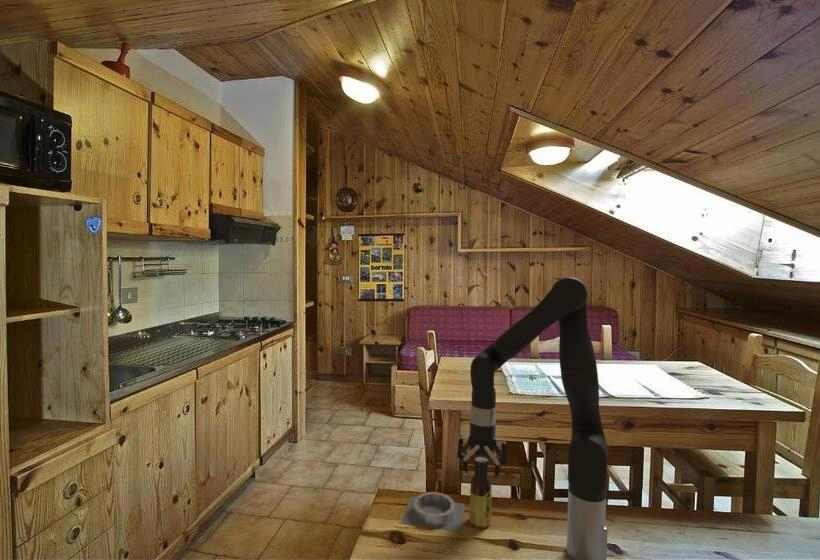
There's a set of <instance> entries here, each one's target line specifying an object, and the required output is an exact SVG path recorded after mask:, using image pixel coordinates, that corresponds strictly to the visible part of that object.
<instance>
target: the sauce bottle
mask: <svg viewBox="0 0 820 560" xmlns="http://www.w3.org/2000/svg"><path fill="white" fill-rule="evenodd" d="M473 461H474V475H473V477H472V478H471V480H470V490H469V522H470V524H471V526H472V527H473V528H476V529H479V530H485V529H488V528H489V527H490V526H491V521H492V520H491V519H492V485H491V481H490V478H489V473H488V468H489V467H488V466H489V459H487V458H486V457H484V456H477V457H474V460H473Z"/></svg>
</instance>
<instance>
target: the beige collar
mask: <svg viewBox="0 0 820 560" xmlns="http://www.w3.org/2000/svg"><path fill="white" fill-rule="evenodd" d="M415 497H416V498H415V501H414V504H413V514H414V516H415V518H416V519H417V521H419V522H421V523H423V524H424V525H427V526H434V527H439V526H444V525H448V524H449V523H450V522H451V521H453V520H454V514H455V503H456V502H455V501H454V500H453V499H452V498H451V496H448V495H446V494H444V493H443V492H442V493H441V492H438V491H437V492H435V491H430V492H429V491H428V492H423V493H421V494H419V495H418V496H415ZM431 503H434V504H441V505H443V506H445V507H447V508H448V510H447V511H446V512H445V513H440V514H432V513H427V512H425V511H423V510H421V509H420V507H422V506H423V505H425V504H431Z"/></svg>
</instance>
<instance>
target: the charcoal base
mask: <svg viewBox="0 0 820 560" xmlns="http://www.w3.org/2000/svg"><path fill="white" fill-rule="evenodd" d="M416 497H417V496H409V499H408V501H407V505H406V506H405V510H404V512H403V515H402V518H401V521H400V524H402V525H408V526H415V527H422V528H429V529H435V530H442V531H448V532H449V531H450V532H456V533H460V534H461V533H463V528H464V527H463V525H464V515H465V505H466V504H465V503H462V502H461V503H460V502H459V503H458V502H454V503H455V514H454V520H453V521H451V522H450V523H449V524H448V525H444V526H439V527H434V526H427V525H424V524H423V523H421V522H419V521H417V519H416V518H415V516H414V514H413V504H414V501H415V498H416ZM420 509H421V510H423V511H425V512H427V513H432V514H440V513H445V512H446V511H447V510H448V508H447V507H445V506H443V505H441V504H434V503H431V504H425V505H423V506H422V507H420Z"/></svg>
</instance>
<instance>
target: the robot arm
mask: <svg viewBox="0 0 820 560" xmlns="http://www.w3.org/2000/svg"><path fill="white" fill-rule="evenodd" d="M587 300H588V288H587V287H586V285H585V283H584V282H582V281H581V280H580V279H578V278H577V277H573V276H565V277H562V278H560V279H558V280H556V281H555V282H554V284H553V285H552V286H551V289H550V290H549V291H548V293H546V295H545V296H544V297H543V298H542V299H541V301H539V303H538V304H537V305H535V307H534V308H533V309H531V311H529V312H528V313H527V314H525V315H524V316H523V317H522V318H520V319H519V320H517V321H516V322H515V323H513V324H512V325H511V326H510V327H509V328H507V329H506V330H505V331H504V332H503V333H501V335H499V337H497V338H496V339H495V341H494V342H493V343H492V344H490V345H489V346H487V348H485V349H483V350H482V351H481V352H480V353H478V354H477V356H475V357H474V358H473V359H472V361H471V364H470V370H469V371H470V382H471V389H472V390H471V405H470V406H471V407H470V412H469V415H470V416H469V436H468V437H464V436H463V435H459V437H458V443H457V445H458V446H457V453H456V457H457V458H458V459H461V460H462V461H463V462H462V463H463V465H462V470H463V472H464V473H465V474H468V472H469V459H470V458H471V457H472V456H473V455H474V454H476V455H477V456H480V455H482V456H483V457H484V456H485V457H487V456H489V457H490V459H491V460H492V461H493V462H494V473H493V474H494V478H497V477H498V476H499V475H500V471H501V470H500V466H501V465H506V464H507V444H506V443H507V442H506V440H504V439H502V440H501V441H497V439H496V430H497V428H496V426H497V425H496V424H497V411H496V405H497V403H496V400H497V398H496V396H497V393H496V388H495V373H496V372H497V371H498V370H499V369H500V368H501V367H502V366H504V365H505V364H506V363H507V362H508V361H509V360H512V359H513V358H515V357H517V355H519V354H520V353H521V352H522V351H523V350H525V349H526V348H527V347H528V346H529V345H530V344H532V342H533V341H535V340H536V339H537V338H538V337H539V336H540V335H541V334H542V333H543V332H545V330H547V329H548V328H550V326H552V325H553V324H555V323H556V322H557V321H558V325H559V344H558V345H559V346H558V347H559V349H558V352H559V353H558V354H559V368H560V376H561V382H562V387H563V390H564V393H565V396H566V398H567V401H568V405H569V409H570V415H571V439H570V442H569V447H568V453H567V481H568V487H567V488H568V493H567V494H568V495H567V497H568V498H567V522H566V523H567V527H566V528H567V531H566V553H567V555H568V556H569V558H570V559H571V560H607V558H608V528H607V526H606V513H607V512H606V510H607V509H606V508H607V506H606V505H607V504H606V503H607V482H608V481H607V480H608V479H607V478H608V477H607V475H608V442H607V439H606V437H605V436H606V435H605V432H604V429H603V424H602V418H601V414H600V385H599V372H598V366H597V360H596V354H595V351H594V346H593V342H592V339H591V334H590V331H589V325H588V315H587V312H588V311H587V310H588V309H587V304H588V303H587ZM466 443H467V445H468V446H469V447H468V449H467V450H466V452H465V453H463V446H465V445H466ZM496 447H498V449H499V450H501V457H499V456H498V454H497V452H496V451H495V449H496Z"/></svg>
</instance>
